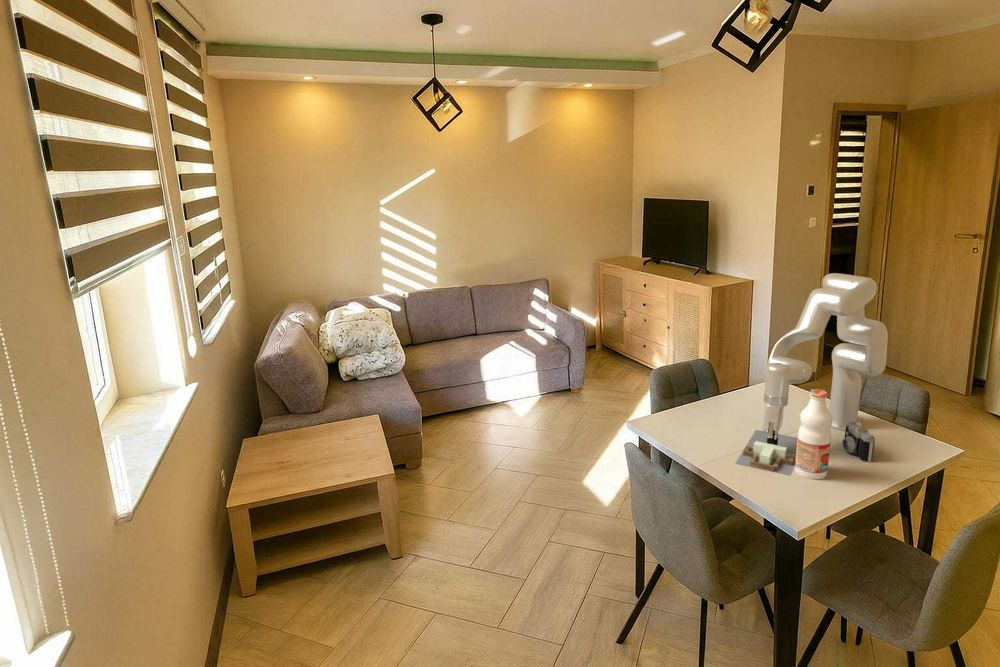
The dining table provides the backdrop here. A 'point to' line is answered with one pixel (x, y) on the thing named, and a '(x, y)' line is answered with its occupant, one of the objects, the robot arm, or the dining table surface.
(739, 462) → the mat
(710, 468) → the dining table surface
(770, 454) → the t block
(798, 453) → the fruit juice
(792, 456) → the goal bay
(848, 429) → the camera
